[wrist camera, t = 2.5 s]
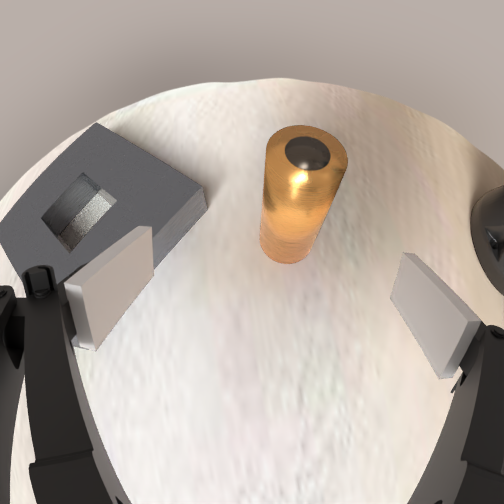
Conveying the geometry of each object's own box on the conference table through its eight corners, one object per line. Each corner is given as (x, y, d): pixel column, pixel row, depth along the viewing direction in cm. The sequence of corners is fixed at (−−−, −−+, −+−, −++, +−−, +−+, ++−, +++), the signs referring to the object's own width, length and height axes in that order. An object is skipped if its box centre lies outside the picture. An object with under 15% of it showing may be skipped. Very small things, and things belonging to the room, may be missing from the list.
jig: (106, 143, 33) (96, 122, 29) (207, 209, 29) (202, 186, 25) (13, 245, 27) (-6, 230, 24) (89, 349, 23) (66, 344, 20)
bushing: (279, 207, 29) (294, 114, 18) (321, 234, 28) (360, 150, 17) (249, 243, 28) (249, 157, 17) (293, 274, 27) (324, 201, 15)
